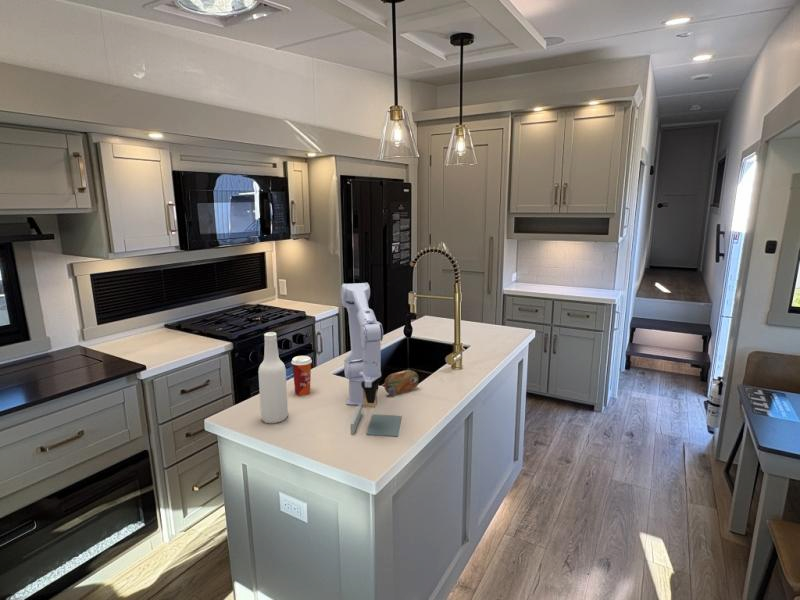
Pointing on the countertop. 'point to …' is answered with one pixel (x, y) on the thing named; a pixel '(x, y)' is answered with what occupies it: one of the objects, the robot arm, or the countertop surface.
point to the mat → (384, 425)
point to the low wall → (356, 419)
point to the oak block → (369, 405)
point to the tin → (401, 382)
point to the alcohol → (272, 383)
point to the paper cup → (302, 374)
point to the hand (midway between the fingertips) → (371, 399)
